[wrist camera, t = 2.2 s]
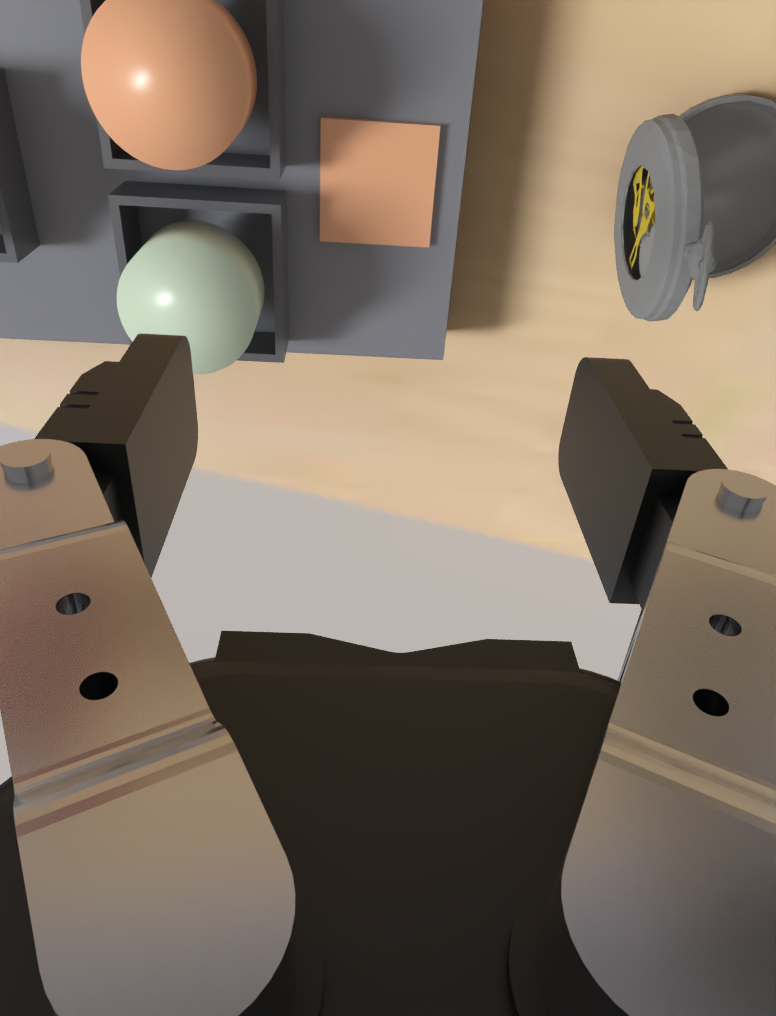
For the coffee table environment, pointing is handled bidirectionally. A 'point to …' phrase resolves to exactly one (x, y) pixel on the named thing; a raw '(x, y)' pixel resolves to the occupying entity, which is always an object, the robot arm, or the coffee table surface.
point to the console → (252, 176)
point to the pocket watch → (694, 201)
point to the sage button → (194, 292)
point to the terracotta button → (169, 79)
